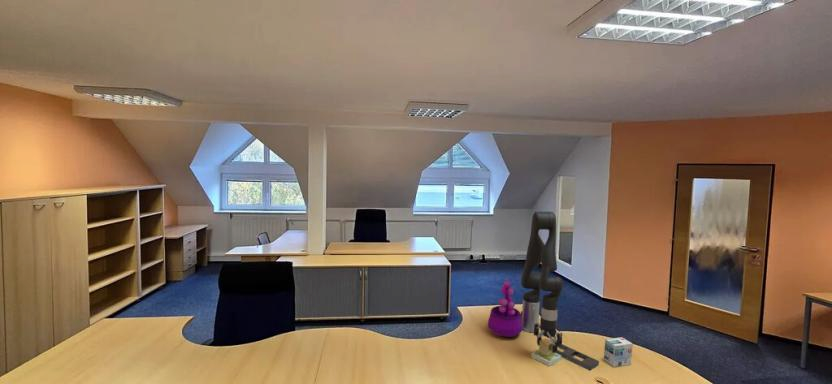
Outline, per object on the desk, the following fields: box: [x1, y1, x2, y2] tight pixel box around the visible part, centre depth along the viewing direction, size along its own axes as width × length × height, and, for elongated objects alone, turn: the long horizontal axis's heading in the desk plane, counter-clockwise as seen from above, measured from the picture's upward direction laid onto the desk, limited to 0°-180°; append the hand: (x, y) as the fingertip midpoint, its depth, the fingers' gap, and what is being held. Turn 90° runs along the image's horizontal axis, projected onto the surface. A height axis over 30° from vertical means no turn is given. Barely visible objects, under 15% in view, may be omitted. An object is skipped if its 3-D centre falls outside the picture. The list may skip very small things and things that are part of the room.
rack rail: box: [555, 343, 600, 371], centre depth 184 cm, size 24×8×2 cm, turn 37°
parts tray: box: [530, 348, 562, 367], centre depth 181 cm, size 10×10×2 cm
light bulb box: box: [603, 336, 634, 368], centre depth 179 cm, size 11×7×11 cm, turn 105°
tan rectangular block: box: [538, 337, 554, 361], centre depth 181 cm, size 5×5×8 cm
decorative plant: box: [487, 280, 523, 338], centre depth 205 cm, size 19×18×30 cm
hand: (546, 348), depth 181 cm, fingers open, 8 cm apart
